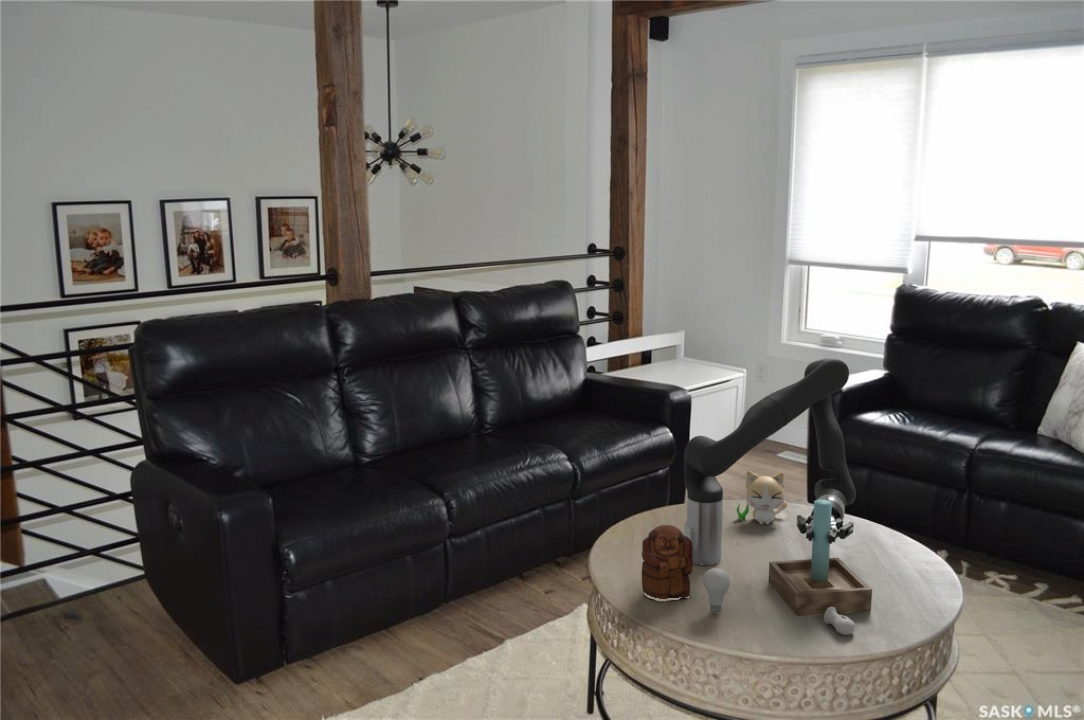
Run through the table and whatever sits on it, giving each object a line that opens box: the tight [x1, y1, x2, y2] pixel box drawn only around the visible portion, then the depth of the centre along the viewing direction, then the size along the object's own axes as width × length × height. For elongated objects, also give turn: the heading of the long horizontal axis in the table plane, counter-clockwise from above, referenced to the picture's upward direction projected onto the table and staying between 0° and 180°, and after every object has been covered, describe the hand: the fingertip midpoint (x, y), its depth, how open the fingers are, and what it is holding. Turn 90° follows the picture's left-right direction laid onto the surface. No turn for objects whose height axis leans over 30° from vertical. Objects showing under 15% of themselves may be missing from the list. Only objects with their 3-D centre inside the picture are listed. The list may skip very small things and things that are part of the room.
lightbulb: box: [702, 567, 731, 614], centre depth 206 cm, size 6×6×11 cm
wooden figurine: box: [641, 524, 694, 599], centre depth 214 cm, size 12×6×18 cm, turn 98°
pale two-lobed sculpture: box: [823, 607, 856, 636], centre depth 199 cm, size 4×8×5 cm
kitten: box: [736, 470, 788, 525], centre depth 261 cm, size 15×10×15 cm, turn 81°
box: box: [768, 557, 873, 617], centre depth 214 cm, size 18×18×6 cm
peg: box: [811, 499, 832, 581], centre depth 212 cm, size 4×4×19 cm
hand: (820, 538), depth 209 cm, fingers closed on peg, 4 cm apart
